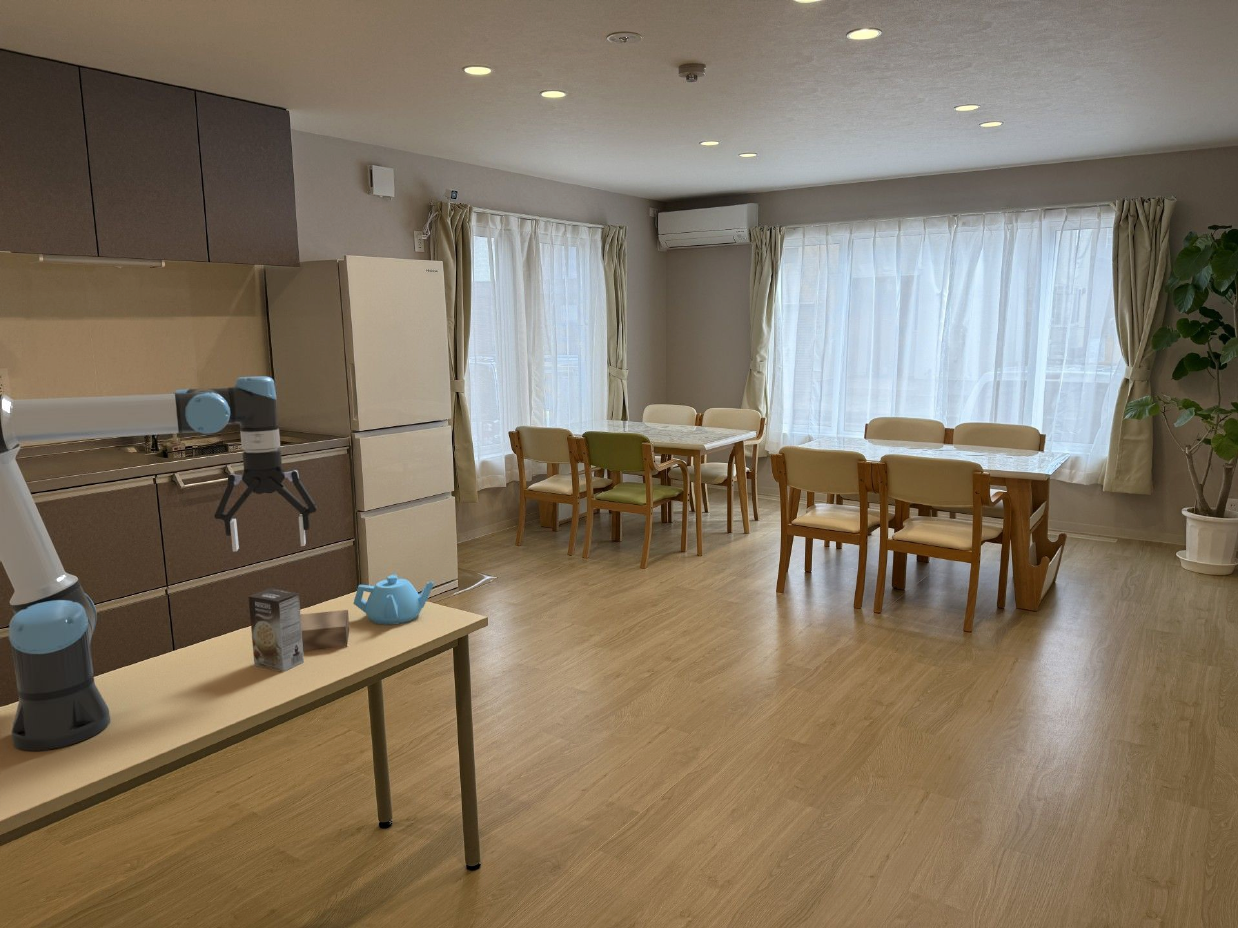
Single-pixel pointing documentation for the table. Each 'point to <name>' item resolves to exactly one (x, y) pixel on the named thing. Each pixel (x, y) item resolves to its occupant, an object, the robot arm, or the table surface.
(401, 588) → the teapot
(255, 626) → the coffee box
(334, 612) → the walnut base
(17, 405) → the robot arm
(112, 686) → the table surface
